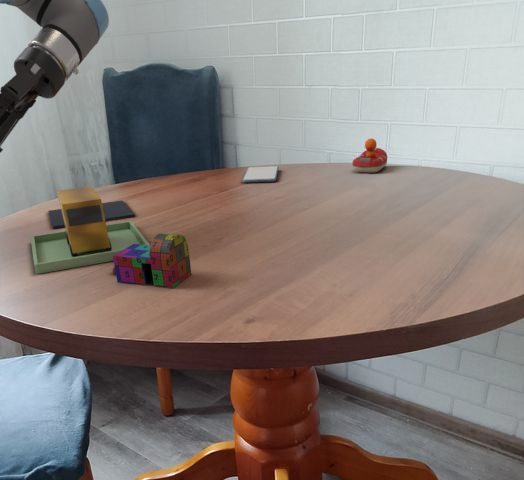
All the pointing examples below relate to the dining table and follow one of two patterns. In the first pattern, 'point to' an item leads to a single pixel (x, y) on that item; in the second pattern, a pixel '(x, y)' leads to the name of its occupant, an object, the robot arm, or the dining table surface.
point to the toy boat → (370, 158)
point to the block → (154, 261)
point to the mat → (110, 210)
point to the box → (59, 256)
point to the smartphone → (261, 174)
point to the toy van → (83, 220)
